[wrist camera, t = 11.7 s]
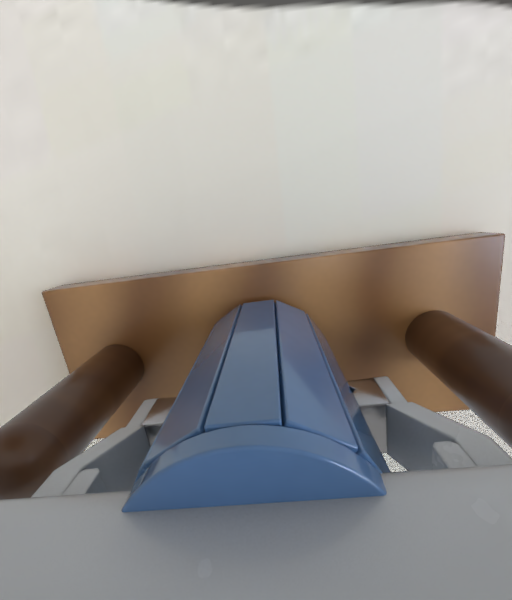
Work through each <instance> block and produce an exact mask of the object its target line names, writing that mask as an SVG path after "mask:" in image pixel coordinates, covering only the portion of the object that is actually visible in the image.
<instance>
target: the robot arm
mask: <svg viewBox="0 0 512 600" xmlns="http://www.w3.org/2000/svg"><path fill="white" fill-rule="evenodd" d="M347 383H348V385H349V387H350V389H351V391H352V393H353V396H354V398H355V400H356V402H357V404H358V406H359V408H360V410H361V412H362V414H363V416H364V418H365V420H366V422H367V425H368V427H369V429H370V431H371V433H372V435H373V437H374V439H375V441H376V443H377V445H378V447H379V449H380V451H381V453H387V454H388V455H390V456H391V457H392V458H393V459H394V460H396V461H397V462H398V463H399V464H401V465H402V466H403V467H404V468H405V469H407V470H408V471H403V472H389V473H381V476H382V480H383V483H384V485H385V488H386V491H387V494H386V495H384V496H373V497H357V498H342V499H326V500H310V501H295V502H279V503H263V504H248V505H232V506H217V507H201V508H185V509H170V510H154V511H139V512H122V511H121V509H122V507H123V505H124V503H125V501H126V499H127V497H128V496H129V494H130V492H131V490H132V487H133V484H134V482H135V479H136V476H137V474H138V471H139V468H140V466H141V464H142V462H143V460H144V459H145V457H146V455H147V453H148V451H149V449H150V447H151V445H152V443H153V441H154V439H155V438H156V436H157V434H158V432H159V430H160V428H161V426H162V424H163V422H164V420H165V418H166V416H167V415H168V413H169V411H170V409H171V407H172V405H173V403H174V401H175V399H176V397H168V398H155V399H147V400H144V402H143V403H142V405H141V406H140V407H139V409H138V410H137V412H136V413H135V415H134V416H133V417H132V419H131V420H130V422H129V423H128V425H127V426H126V427H124V428H120V429H119V430H117V431H116V432H114V433H112V434H111V435H109V436H108V437H106V438H105V439H103V440H101V441H100V442H98V443H97V444H95V445H93V446H92V447H90V448H89V449H87V450H86V451H84V452H82V453H81V454H79V455H78V456H76V457H75V458H73V459H71V460H70V461H68V462H67V463H65V464H63V465H62V466H60V467H59V468H57V469H56V470H54V471H53V472H52V473H51V475H50V476H49V477H48V478H47V479H46V480H45V482H44V483H43V484H42V485H41V486H40V487H39V488H38V490H37V491H36V492H35V493H34V494H33V495H32V497H31V498H18V499H3V500H0V600H512V458H511V457H510V456H509V455H508V454H507V453H506V452H505V451H504V450H503V449H502V448H501V447H500V446H499V445H498V444H497V443H496V442H495V441H494V440H493V439H492V438H491V437H489V436H487V435H484V434H482V433H480V432H478V431H476V430H473V429H471V428H469V427H467V426H464V425H462V424H460V423H458V422H456V421H453V420H451V419H449V418H447V417H445V416H442V415H440V414H438V413H436V412H433V411H431V410H429V409H427V408H425V407H422V406H420V405H418V404H416V403H413V402H407V400H406V399H405V398H404V397H403V395H402V394H401V393H400V391H399V390H398V389H397V388H396V386H395V385H394V384H393V382H392V381H391V380H390V379H389V377H387V376H383V377H375V378H368V379H360V380H352V381H347Z"/></svg>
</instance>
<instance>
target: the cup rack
mask: <svg viewBox="0 0 512 600" xmlns="http://www.w3.org/2000/svg"><path fill="white" fill-rule="evenodd" d="M504 241H505V234H502V233H485V232H479V233H472V234H464V235H456V236H448V237H440V238H432V239H424V240H416V241H408V242H400V243H392V244H384V245H376V246H369V247H361V248H353V249H345V250H337V251H329V252H321V253H313V254H305V255H297V256H289V257H281V258H273V259H266V260H258V261H250V262H242V263H234V264H226V265H218V266H210V267H202V268H194V269H186V270H178V271H170V272H163V273H155V274H147V275H139V276H131V277H123V278H115V279H107V280H99V281H91V282H83V283H75V284H67V285H61V286H58V287H55V288H51V289H48V290H45V291H43V292H42V295H43V298H44V301H45V304H46V306H47V309H48V312H49V315H50V318H51V321H52V324H53V327H54V330H55V333H56V336H57V338H58V341H59V344H60V347H61V350H62V353H63V356H64V359H65V362H66V365H67V368H68V370H69V373H70V374H69V375H68V376H67V377H65V378H64V379H63V380H62V381H60V382H59V383H58V384H56V385H55V386H54V387H53V388H51V389H50V390H49V391H47V392H46V393H45V394H43V395H42V396H41V397H40V398H38V399H37V400H36V401H34V402H33V403H32V404H31V405H29V406H28V407H27V408H25V409H24V410H23V411H21V412H20V413H19V414H18V415H16V416H15V417H14V418H12V419H11V420H10V421H9V422H7V423H6V424H5V425H3V426H2V427H1V428H0V500H3V499H18V498H31V497H32V495H33V494H34V493H35V492H36V491H37V490H38V488H39V487H40V486H41V485H42V484H43V483H44V482H45V480H46V479H47V478H48V477H49V476H50V475H51V473H52V472H53V471H54V470H56V469H57V468H59V467H60V466H62V465H63V464H65V463H67V462H68V461H70V460H71V459H73V458H75V457H76V456H78V455H79V454H81V453H82V452H84V450H85V449H86V448H87V447H88V445H89V444H90V443H91V442H92V440H93V439H100V438H106V437H108V436H109V435H111V434H112V433H114V432H116V431H117V430H119V429H120V428H124V427H126V426H127V425H128V423H129V422H130V420H131V419H132V417H133V416H134V415H135V413H136V412H137V410H138V409H139V407H140V406H141V405H142V403H143V402H144V400H147V399H155V398H168V397H177V395H178V394H179V392H180V390H181V388H182V386H183V384H184V382H185V380H186V378H187V376H188V374H189V373H190V371H191V369H192V367H193V365H194V363H195V361H196V359H197V357H198V355H199V353H200V351H201V350H202V348H203V346H204V344H205V342H206V340H207V338H208V336H209V334H210V332H211V330H212V329H213V327H214V325H215V324H216V322H217V321H218V320H220V319H221V318H222V317H224V316H225V315H226V314H228V313H229V312H230V311H232V310H233V309H234V308H236V307H237V306H238V305H241V306H242V304H243V303H249V302H257V301H265V300H274V303H275V301H276V300H278V301H280V302H283V303H285V304H288V305H290V306H293V307H295V308H298V309H300V310H303V311H305V313H306V314H308V315H309V316H310V317H311V319H312V320H313V321H314V322H315V324H316V325H317V326H318V328H319V329H320V330H321V332H322V333H323V334H324V336H325V338H326V340H327V342H328V344H329V346H330V348H331V350H332V352H333V354H334V356H335V358H336V360H337V362H338V365H339V367H340V369H341V371H342V373H343V375H344V377H345V379H346V381H352V380H360V379H368V378H375V377H383V376H387V377H389V379H390V380H391V381H392V382H393V384H394V385H395V386H396V388H397V389H398V390H399V391H400V393H401V394H402V395H403V397H404V398H405V399H406V400H407V402H413V403H416V404H418V405H420V406H422V407H425V408H427V409H429V410H431V411H433V412H442V411H455V410H468V409H471V410H472V411H473V412H474V413H475V414H476V415H477V416H478V417H479V418H480V419H481V420H483V421H484V422H485V423H486V424H487V425H488V426H489V427H490V428H491V429H492V430H493V431H494V432H495V433H496V434H497V435H498V436H499V437H501V438H502V439H503V440H504V441H505V442H506V443H507V444H508V445H509V446H510V447H511V448H512V346H511V345H509V344H507V343H505V342H504V341H502V340H500V339H498V338H496V337H495V332H496V322H497V312H498V302H499V291H500V281H501V271H502V261H503V251H504Z"/></svg>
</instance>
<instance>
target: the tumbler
mask: <svg viewBox="0 0 512 600" xmlns="http://www.w3.org/2000/svg"><path fill="white" fill-rule="evenodd" d="M389 472H390V470H389V468H388V466H387V464H386V462H385V460H384V458H383V456H382V454H381V451H380V449H379V447H378V445H377V443H376V441H375V439H374V437H373V435H372V433H371V431H370V429H369V427H368V425H367V422H366V420H365V418H364V416H363V414H362V412H361V410H360V408H359V406H358V404H357V402H356V400H355V398H354V396H353V393H352V391H351V389H350V387H349V385H348V383H347V381H346V379H345V377H344V375H343V373H342V371H341V369H340V367H339V365H338V362H337V360H336V358H335V356H334V354H333V352H332V350H331V348H330V346H329V344H328V342H327V340H326V338H325V336H324V334H323V333H322V332H321V330H320V329H319V328H318V326H317V325H316V324H315V322H314V321H313V320H312V319H311V317H310V316H309V315H308V314H306V313H305V311H303V310H300V309H298V308H295V307H293V306H290V305H288V304H285V303H283V302H280V301H278V300H276V301H275V303H274V300H265V301H257V302H249V303H243V304H242V306H241V305H238V306H237V307H236V308H234V309H233V310H232V311H230V312H229V313H228V314H226V315H225V316H224V317H222V318H221V319H220V320H218V321H217V322H216V324H215V325H214V327H213V329H212V330H211V332H210V334H209V336H208V338H207V340H206V342H205V344H204V346H203V348H202V350H201V351H200V353H199V355H198V357H197V359H196V361H195V363H194V365H193V367H192V369H191V371H190V373H189V374H188V376H187V378H186V380H185V382H184V384H183V386H182V388H181V390H180V392H179V394H178V395H177V397H176V399H175V401H174V403H173V405H172V407H171V409H170V411H169V413H168V415H167V416H166V418H165V420H164V422H163V424H162V426H161V428H160V430H159V432H158V434H157V436H156V438H155V439H154V441H153V443H152V445H151V447H150V449H149V451H148V453H147V455H146V457H145V459H144V460H143V462H142V464H141V466H140V468H139V471H138V474H137V476H136V479H135V482H134V484H133V487H132V490H131V492H130V494H129V496H128V497H127V499H126V501H125V503H124V505H123V507H122V509H121V511H122V512H139V511H154V510H170V509H185V508H201V507H217V506H232V505H248V504H263V503H279V502H295V501H310V500H326V499H342V498H357V497H373V496H384V495H386V494H387V491H386V488H385V485H384V483H383V480H382V476H381V473H389Z"/></svg>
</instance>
